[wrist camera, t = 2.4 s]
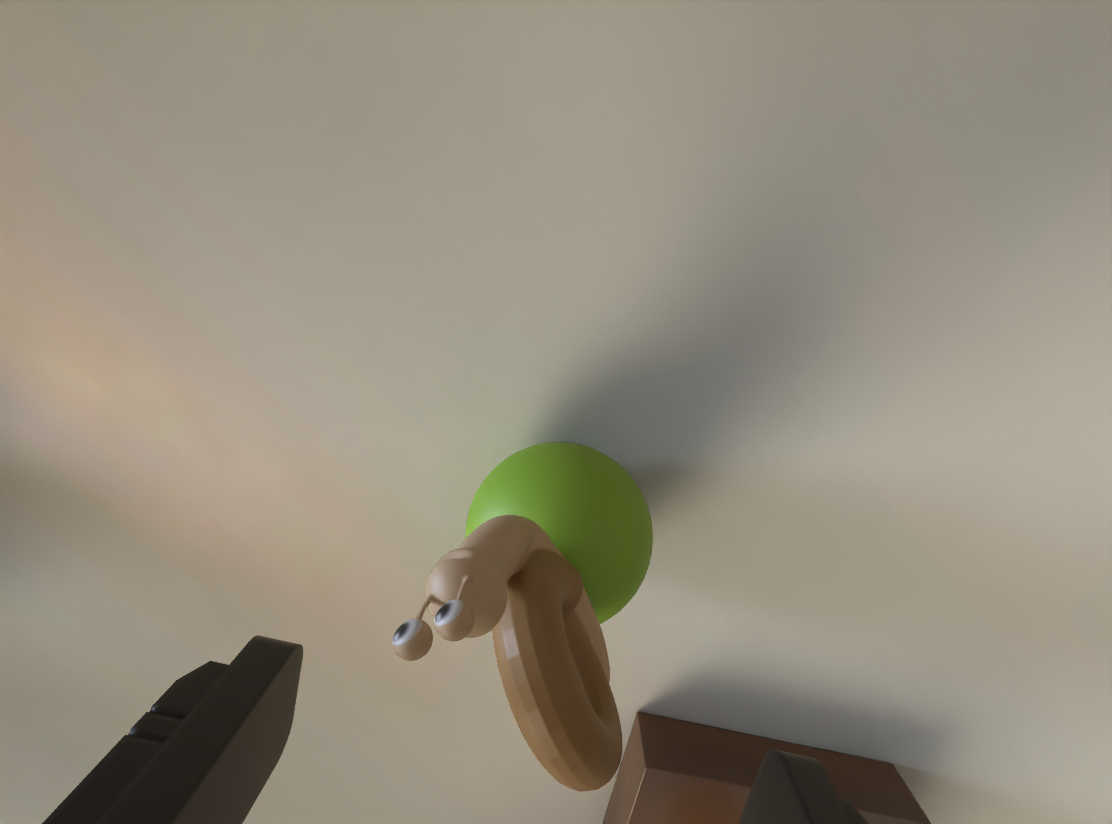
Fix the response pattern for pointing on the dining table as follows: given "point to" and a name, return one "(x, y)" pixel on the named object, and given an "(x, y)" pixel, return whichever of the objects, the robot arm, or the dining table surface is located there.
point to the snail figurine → (546, 597)
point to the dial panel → (734, 777)
